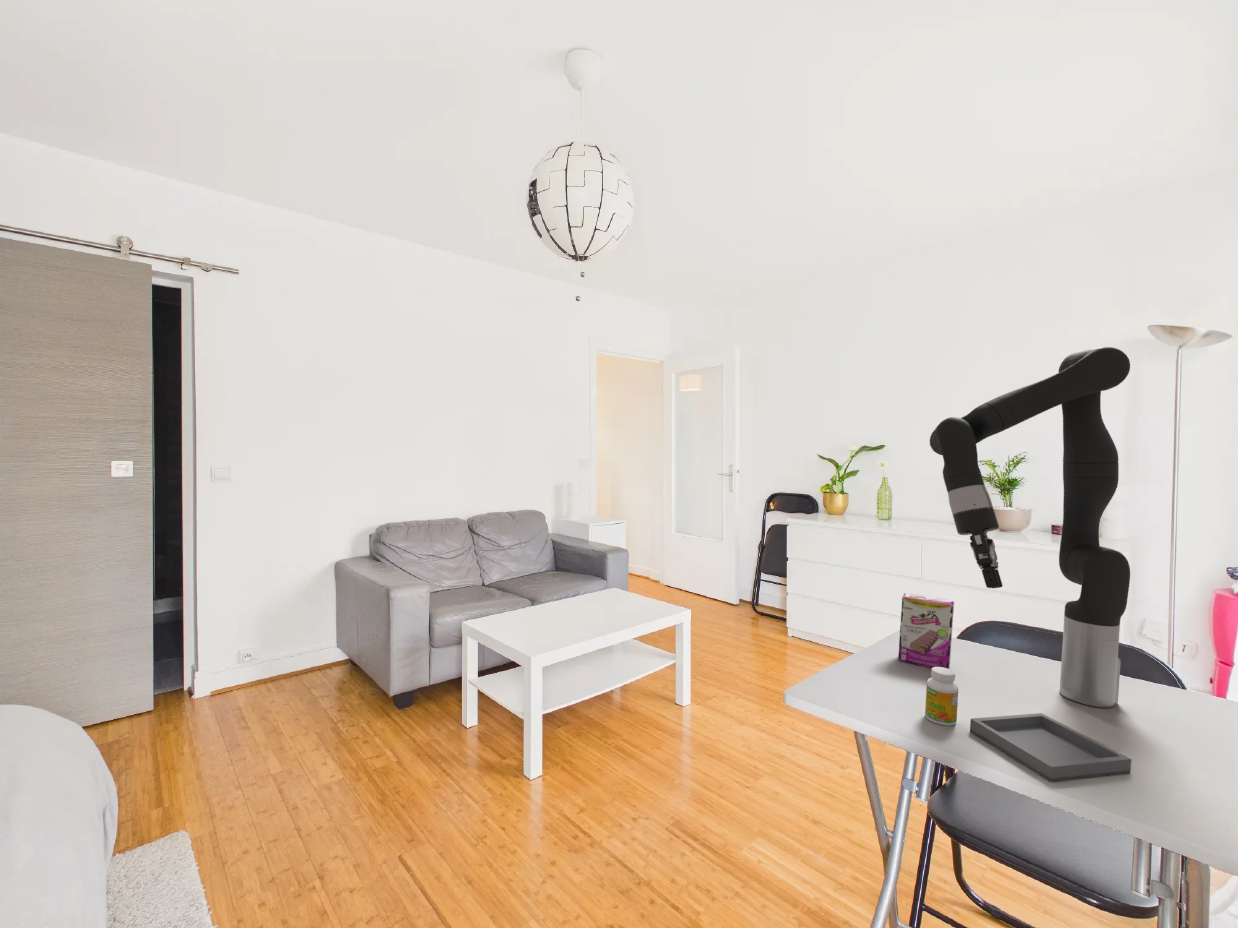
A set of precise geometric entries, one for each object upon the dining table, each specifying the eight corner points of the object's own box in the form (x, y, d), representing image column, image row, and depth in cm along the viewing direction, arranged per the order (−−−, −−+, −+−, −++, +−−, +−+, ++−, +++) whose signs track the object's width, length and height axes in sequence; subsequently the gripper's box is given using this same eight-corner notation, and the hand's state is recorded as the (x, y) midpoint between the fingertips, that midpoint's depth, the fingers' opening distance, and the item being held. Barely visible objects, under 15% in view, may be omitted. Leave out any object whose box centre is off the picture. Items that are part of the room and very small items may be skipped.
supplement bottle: (919, 717, 111) (922, 668, 111) (932, 710, 114) (934, 663, 114) (949, 729, 107) (952, 678, 107) (961, 721, 110) (964, 672, 110)
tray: (1040, 725, 109) (1041, 713, 109) (1130, 773, 94) (1131, 758, 94) (969, 731, 106) (970, 718, 106) (1050, 782, 91) (1051, 766, 90)
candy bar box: (897, 661, 141) (901, 596, 140) (900, 655, 145) (903, 592, 144) (949, 672, 135) (953, 604, 134) (950, 665, 139) (954, 599, 138)
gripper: (989, 501, 112) (1015, 584, 107) (995, 509, 123) (1018, 585, 118) (947, 510, 116) (970, 590, 111) (956, 517, 127) (977, 590, 122)
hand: (995, 587), depth 115 cm, fingers open, 8 cm apart
